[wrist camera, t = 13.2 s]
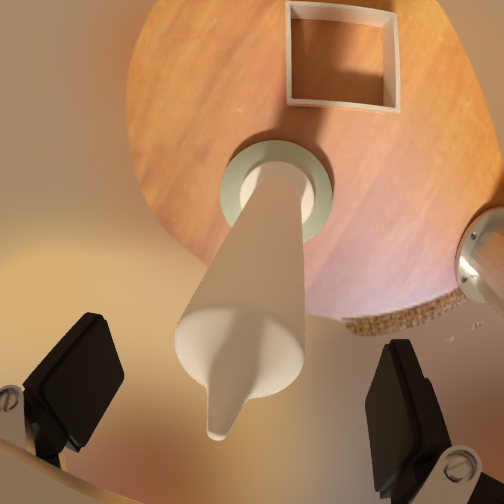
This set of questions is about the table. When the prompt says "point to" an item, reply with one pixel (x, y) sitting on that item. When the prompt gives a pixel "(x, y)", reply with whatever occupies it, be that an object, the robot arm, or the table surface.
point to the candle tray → (359, 17)
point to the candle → (251, 299)
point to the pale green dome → (284, 153)
